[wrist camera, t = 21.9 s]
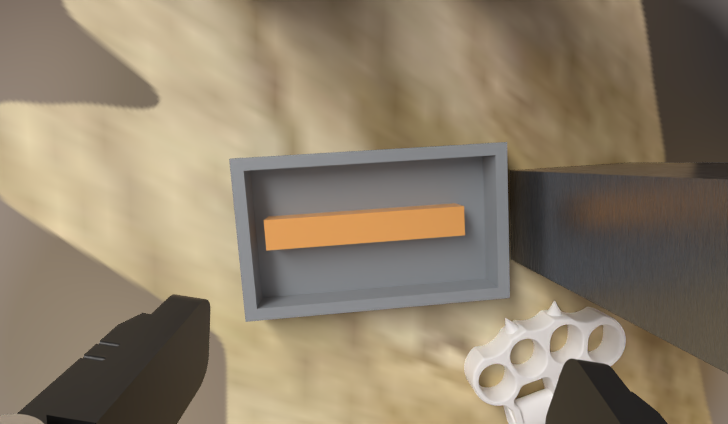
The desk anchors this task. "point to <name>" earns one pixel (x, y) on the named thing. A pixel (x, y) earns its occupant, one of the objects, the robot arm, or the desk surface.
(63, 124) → the desk surface
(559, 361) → the white brass knuckles
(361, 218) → the orange block
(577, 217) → the cabinet
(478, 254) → the tray
